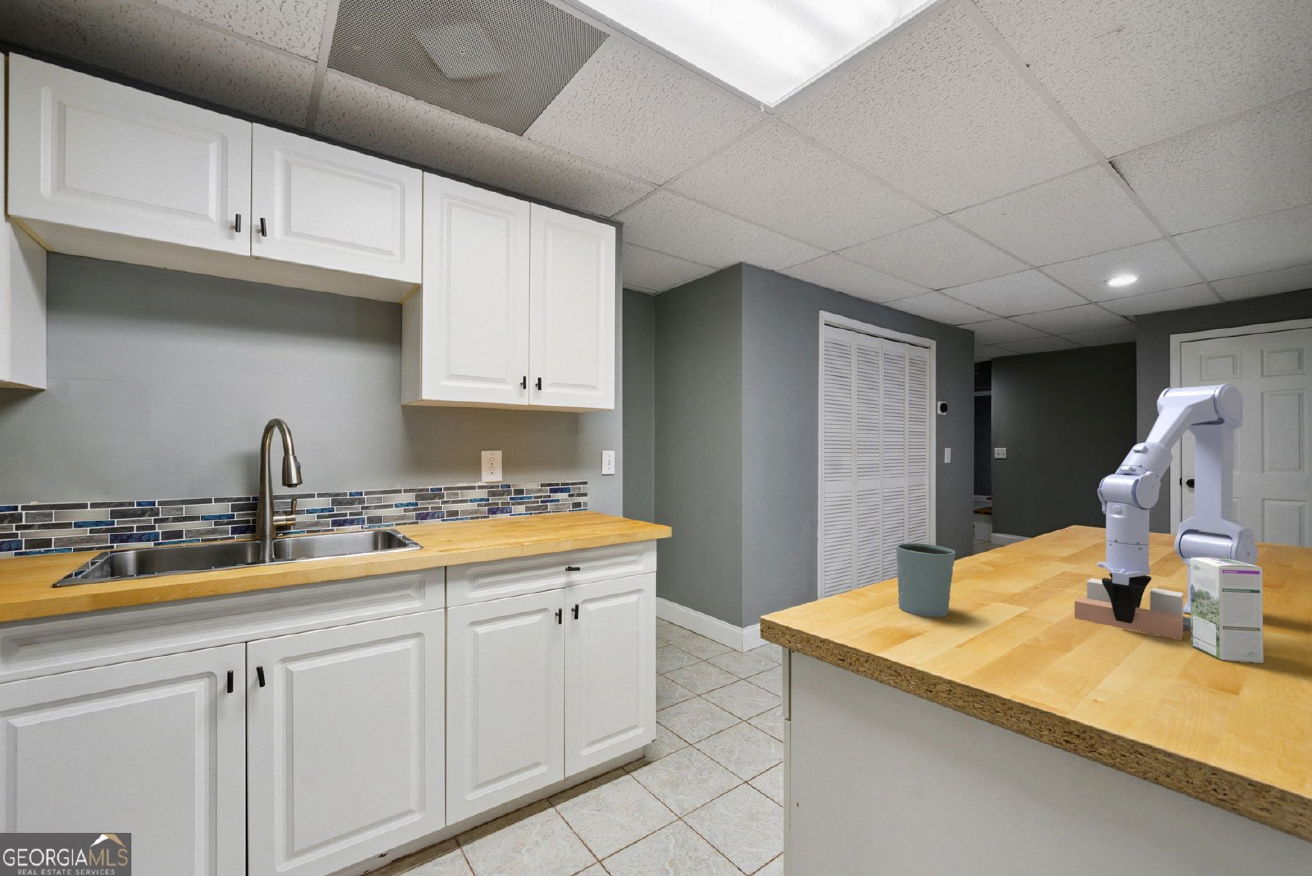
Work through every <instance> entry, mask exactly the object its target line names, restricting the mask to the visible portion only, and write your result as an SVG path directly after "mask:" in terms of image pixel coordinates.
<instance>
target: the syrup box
mask: <svg viewBox="0 0 1312 876" xmlns="http://www.w3.org/2000/svg"><path fill="white" fill-rule="evenodd" d="M1190 579H1191V581H1190V584H1191V585H1190V587H1191V613H1190V618H1191V626H1190V646H1191V647H1193V648H1195V649H1198V650H1199V651H1201V652H1204V653H1205V654H1208V655H1210V656H1212V657H1214V658H1215V659H1218V660H1220V661H1228V662H1236V661H1237V663H1249V662H1253V663H1252V664H1263V663H1264V629H1263V628H1264V623H1263V622H1264V621H1263V620H1264V619H1263V618H1264V616H1263V615H1264V610H1263V607H1264V606H1263V604H1264V602H1263V599H1264V598H1263V596H1264V595H1263V594H1264V593H1263V590H1264V589H1263V588H1264V587H1263V567H1262V566H1258V565H1256V564H1255V565H1251V564H1247V563H1243V562H1239V561H1235V560H1231V559H1224V558H1212V557H1200V558H1191V559H1190ZM1239 661H1240V662H1239Z"/></svg>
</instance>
